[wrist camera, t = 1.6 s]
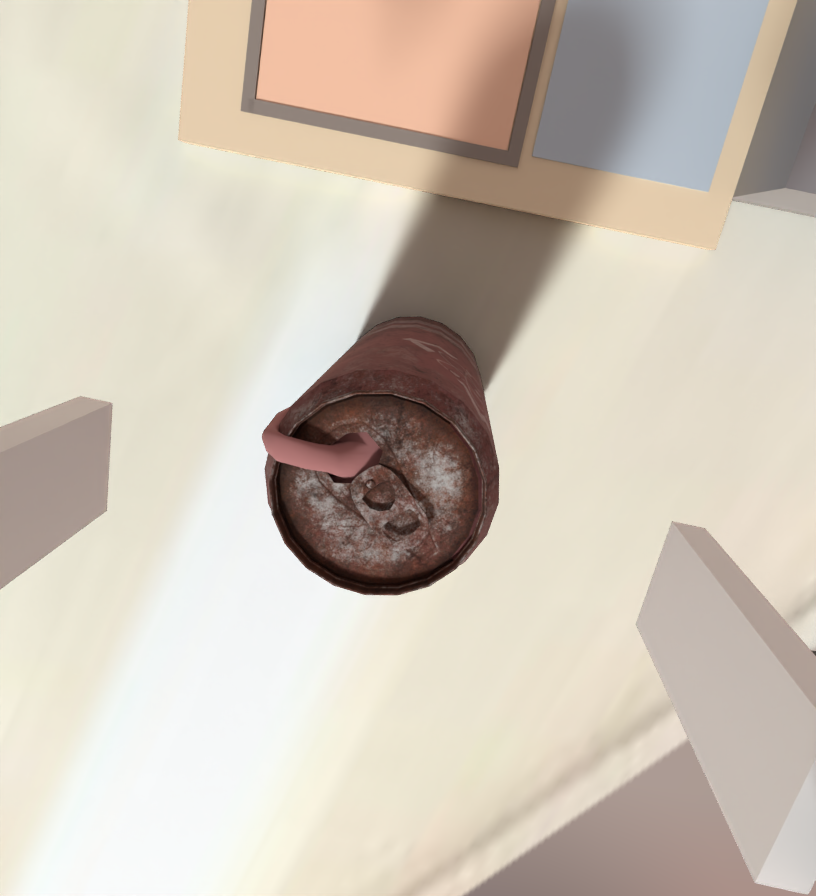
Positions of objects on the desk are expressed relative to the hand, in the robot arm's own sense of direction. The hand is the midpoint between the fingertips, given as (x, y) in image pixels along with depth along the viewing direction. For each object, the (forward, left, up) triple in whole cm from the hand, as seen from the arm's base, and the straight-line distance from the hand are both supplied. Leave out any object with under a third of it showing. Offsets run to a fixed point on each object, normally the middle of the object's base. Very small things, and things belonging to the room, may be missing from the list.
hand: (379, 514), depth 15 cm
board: (0, +14, -15) cm, 20 cm away
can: (0, 0, -15) cm, 15 cm away
